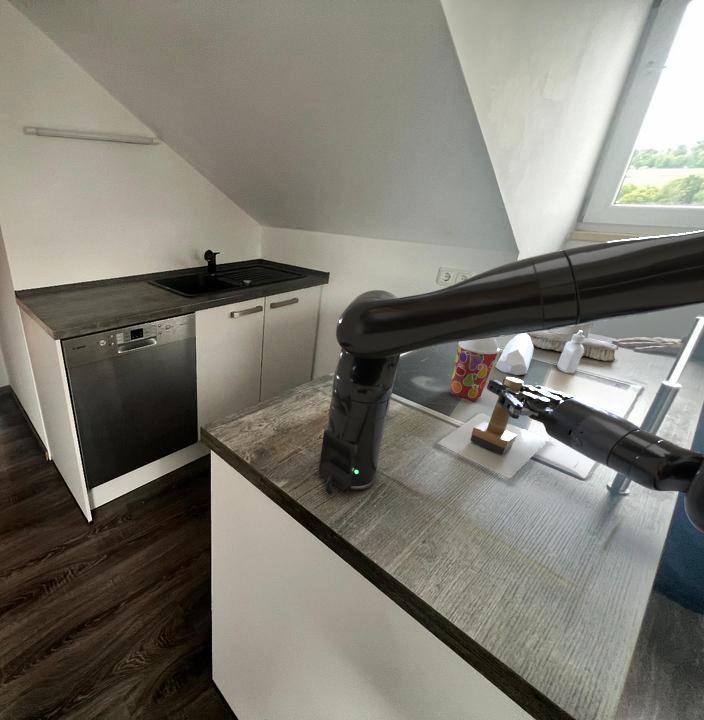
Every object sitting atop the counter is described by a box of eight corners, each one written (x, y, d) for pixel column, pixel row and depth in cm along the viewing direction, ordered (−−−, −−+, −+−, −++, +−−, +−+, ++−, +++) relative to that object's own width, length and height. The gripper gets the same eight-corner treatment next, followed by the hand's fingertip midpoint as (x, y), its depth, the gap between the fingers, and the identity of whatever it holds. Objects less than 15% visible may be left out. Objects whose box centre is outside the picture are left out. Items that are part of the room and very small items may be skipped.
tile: (508, 483, 69) (510, 478, 68) (435, 447, 78) (436, 443, 78) (547, 443, 79) (549, 439, 79) (479, 416, 89) (480, 412, 89)
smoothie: (480, 392, 99) (504, 318, 91) (485, 407, 93) (511, 328, 85) (444, 386, 103) (463, 313, 95) (446, 400, 96) (467, 323, 88)
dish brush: (502, 455, 73) (528, 388, 69) (469, 440, 78) (491, 376, 73) (512, 448, 76) (537, 383, 72) (479, 433, 81) (501, 372, 76)
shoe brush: (612, 356, 122) (619, 341, 120) (615, 364, 117) (622, 348, 115) (519, 339, 136) (524, 326, 134) (518, 345, 130) (523, 331, 128)
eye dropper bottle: (554, 370, 112) (569, 331, 107) (557, 364, 116) (572, 326, 111) (573, 375, 109) (589, 335, 105) (576, 369, 113) (592, 330, 108)
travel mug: (592, 344, 132) (613, 292, 125) (568, 343, 132) (588, 291, 125) (573, 336, 139) (592, 286, 132) (550, 335, 139) (568, 286, 132)
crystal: (502, 335, 128) (489, 357, 111) (528, 329, 122) (519, 351, 106) (509, 356, 128) (498, 381, 111) (536, 351, 123) (528, 376, 106)
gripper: (636, 406, 61) (530, 362, 76) (568, 417, 57) (472, 369, 73) (615, 445, 64) (518, 395, 79) (550, 458, 60) (462, 403, 76)
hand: (496, 383), depth 76 cm, fingers closed on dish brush, 3 cm apart
